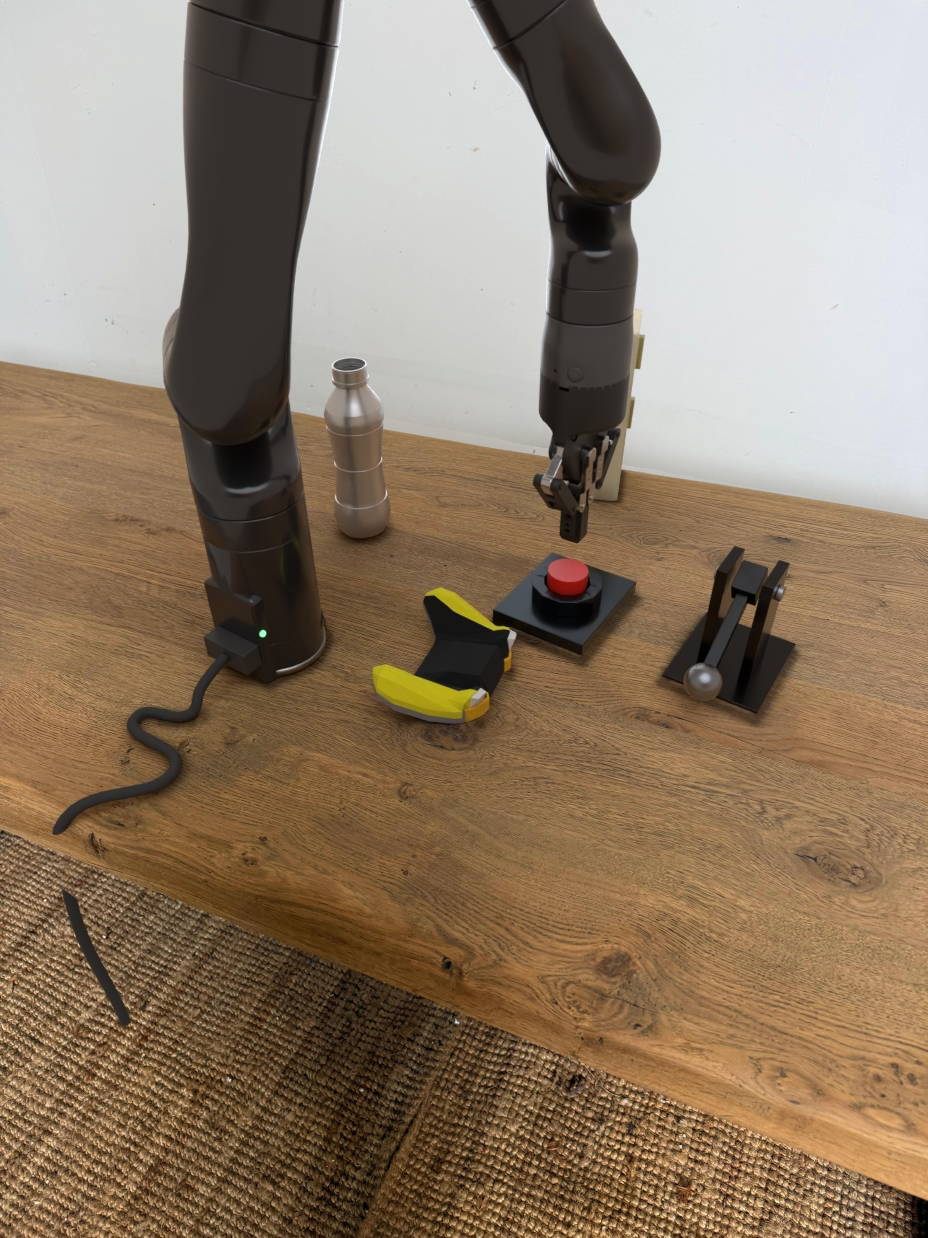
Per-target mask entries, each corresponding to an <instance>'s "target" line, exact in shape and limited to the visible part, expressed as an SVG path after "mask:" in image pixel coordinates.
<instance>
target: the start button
mask: <svg viewBox="0 0 928 1238" xmlns="http://www.w3.org/2000/svg"><path fill="white" fill-rule="evenodd" d="M585 564H586V563H584V562H582V561H581V560H578V559H574V558H570V559H559V560H556V561H554V562H552V563H551V564H550V565H549V567H548V575H547V585H548V588H549V589H550V590H551V591H553V592H556V593H559V594H561V595H576V594H579V593H582V592H584V591H585V590H586V588H587V582H588V573H589V571H588V568H587V566H586V565H585Z"/></svg>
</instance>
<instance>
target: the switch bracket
mask: <svg viewBox="0 0 928 1238" xmlns="http://www.w3.org/2000/svg"><path fill="white" fill-rule="evenodd" d="M745 551H746V549H745V548H743V547H741V546H737V545H733V547H732V548H731V549H730V551H729V552H728V554H727V555H726V556H725V558H724V559H723V560H722V561H721V563H720V564H718V565H717V566H716V568H715V569H714V570H715V571H714V572H713V573H714V574H713V584H712V589H711V594H710V598H709V603H708V607H707V611H706V612H705V613H704V615H703V616H702V618H701V619H700V620H699V621H698V623H697V625H696V626H695V627H694V628H693V630H692V632H691V633H690V634H689V635H688V637H687V638H686V640H685V642H684V643H683V644H682V646H681V647H680V648H679V650H678V651H677V652H676V654H675V656H674V657H673V658H672V659H671V661H670V662H669V664H668V665H667V667H666V668H665V670H664V671H663V673H661V676H662V678H665V679H667V680H670V681H672V682H674V683H677V684H680V685H682V686H684V676H685V673H686V672H687V670H688V669H689V668H690V667H691V666H693V665H695V664H698V663H704V661H705V659H706V657H707V655H708V652H709V650H710V648H711V646H712V644H713V642H714V640H715V638H716V635H717V633H718V631H719V629H720V627H721V625H722V623H723V621H724V619H725V616H726V614H727V612H728V610H729V608H730V606H731V604H732V602H733V598H731V585H732V583H733V581H734V578H735V576H736V574H737V572H738V570H739V568H740V566H741V564H742V562H743V560H744V556H745ZM790 565H791V562H788V561H784V560H782V559H778V560H777V562H776V564H775V565H774V566H773V568H772V569H771V571H770V573H768V577H767V579H766V580H765V582H764V583H763V585H762V588H761V592H760V596H759V599H758V601H757V604H756V608H755V611H754V615H753V618H752V623H751V627H750V626H748V625H744V624H742V623H739V624H738V626H737V628H736V630H735V632H734V634H733V636H732V639H731V641H730V643H729V645H728V647H727V649H726V651H725V654H724V656H723V658H722V660H721V662H720V664H719V666H718V669H717V670H718V671H719V672H720V674H721V676H722V680H723V684H722V689H721V691H720V692H719V694H718V695H717V696H716V697H714V698H715V699H717V700H720V701H723V702H724V703H727V704H730V705H733V706H735V707H738V708H740V709H743V710H745V711H748V712H750V713H753V714H755V715H758V714H759V712H760V710H761V709H762V707H763V705H764V704H765V702H766V700H767V698H768V696H769V695H770V692H771V691H772V689H773V688H774V686H775V684H776V682H777V680H778V678H779V676H780V675H781V673H782V671H783V669H784V667H785V665H786V664H787V662H788V660H789V658H790V656H791V655H792V653H793V651H794V649H795V647H796V645H797V644H796V643H795V642H792V641H790V640H787V639H784V638H781V637H778V636H776V635H772V634H771V632H772V629H773V625H774V622H775V619H776V614H777V611H778V608H779V605H780V602H782V601H783V599H784V596H785V594H786V591H787V586H785V583H786V579H787V576H788V572H789V570H790Z"/></svg>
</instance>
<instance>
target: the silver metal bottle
mask: <svg viewBox="0 0 928 1238" xmlns="http://www.w3.org/2000/svg"><path fill="white" fill-rule="evenodd" d="M331 373H332V377H331V382H332V384H333V386H334V388H333V390H332V392H331V393H330V394H329V396H328V398H327V400H326V402H325V404H324V405H325V406H324V409H323V410H324V411H323V419H324V424H325V427H326V431H327V435H328V439H329V443H330V447H331V452H332V458H333V463H334V471H335V474H334V475H335V477H334V478H335V495H334V504H333V505H334V506H333V507H334V508H333V510H334V511H333V516H334V519H335V521H336V525H337V527H338V529H339V530H341V532H342V533H344V534H345V535H346V536H348V537H351V538H354V539H355V538H356V539H368V538H372V537H375V536H378V535H379V534H382V533H383V531H384V530H385V529H386V528H387V526H388V525H389V524H390V520H391V511H392V507H391V502H390V497H389V494H388V491H387V487H386V479H385V475H384V467H383V434H384V421H385V409H384V406H383V403H382V401H381V398H380V397H379V396H378V395H377V394H376V392H375V391H374V390H373V389H372V388H371V387H370V386H369V384H368V383H369V382H370V375H369V373H368V363H367V361H366V360H365V359H363V358H360V357H343V358H339V359H337V360H335V361H333V362H332V364H331Z"/></svg>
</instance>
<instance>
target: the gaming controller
mask: <svg viewBox="0 0 928 1238" xmlns="http://www.w3.org/2000/svg"><path fill="white" fill-rule="evenodd" d="M422 608H423V610H424V613H425V615H426V618H427V620H428V623H429V626H430V630H431V632H432V635H433V639H434V642H433V644H432V645H431V647H430V649H429V651H428V652H427V654H426V656H425V657H424V658H423V660H422V662H421V663H420V665H419V666H418V668H417V669H416V671H415V673H414V674H411V672H407V671H405V670H403V669H400V668H397V667H395V666H393V665H390V664H387V663H385V664H379V665H376V666H373V667H372V673H371V674H372V678H371V681H372V682H371V684H372V688H373V693H374V694H375V697H376V699H377V700H379V701H380V702H382V703H383V704H384V705H386V706H387V707H388V708H389V709H391V710H392V711H395V712H397V713H401V714H404V715H407V716H411V717H414V718H417V719H420V720H424V721H426V722H432V723H441V724H451V725H452V724H453V725H454V724H455V725H457V724H463V723H470V722H472V721H474V720H475V719H478V718H480V717H482V716H483V715H484V714H486V713H487V712H488V711H489V710H490V699H491V697H492V696H493V693H494V692H495V690H496V688H497V686H498V684H499V682H500V681H501V678H502V676H503V675H504V673H505V672H507V671H509V670H510V669H511V668H512V647H513V646H514V645H513V644H514V642H515V641H516V637H517V632H515V631H514V630H512V629H510V627H509V628H508V627H504V626H495V625H494V624H493V621H492V622H491V621H490V620H489V619H488V618H487V617H486V616H484V615H483V614H482V613H481V612H479V610H477V609H476V608H474V607H473V605H471V604H469V603H468V602H467V601H466V600H465V599H464V598H462V597H461V595H460V596H459V595H458V594H457V593H456V592H455V591H451V590H449V589H446V588H443V587H437V588H435V589H432V590H429V591H428V592H426V593H425V594H424V597H423V600H422Z"/></svg>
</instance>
